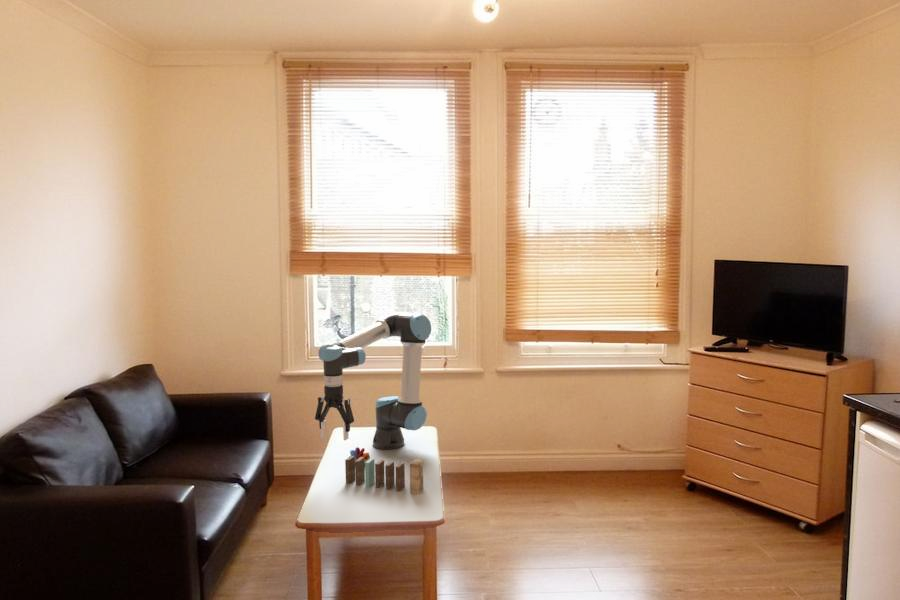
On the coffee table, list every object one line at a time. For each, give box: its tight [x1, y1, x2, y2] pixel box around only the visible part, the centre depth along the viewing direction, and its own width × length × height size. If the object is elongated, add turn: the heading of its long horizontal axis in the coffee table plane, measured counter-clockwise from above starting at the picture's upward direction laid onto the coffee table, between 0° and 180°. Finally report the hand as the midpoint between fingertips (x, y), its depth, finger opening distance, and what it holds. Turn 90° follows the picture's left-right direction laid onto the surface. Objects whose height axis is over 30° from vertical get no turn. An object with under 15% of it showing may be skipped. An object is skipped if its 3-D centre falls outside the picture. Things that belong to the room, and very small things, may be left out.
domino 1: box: [344, 455, 356, 485], centre depth 251 cm, size 2×5×10 cm, turn 160°
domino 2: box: [354, 457, 365, 486], centre depth 250 cm, size 2×5×10 cm, turn 160°
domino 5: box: [395, 461, 406, 492], centre depth 243 cm, size 2×5×10 cm, turn 160°
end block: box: [409, 458, 424, 495], centre depth 241 cm, size 5×4×12 cm
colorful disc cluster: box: [348, 446, 371, 462], centre depth 271 cm, size 8×10×7 cm
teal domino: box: [364, 457, 375, 488], centre depth 248 cm, size 2×5×10 cm, turn 160°
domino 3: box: [374, 459, 386, 489], centre depth 246 cm, size 2×5×10 cm, turn 160°
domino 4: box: [384, 460, 396, 491], centre depth 245 cm, size 2×5×10 cm, turn 160°
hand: (334, 437), depth 252 cm, fingers open, 10 cm apart
